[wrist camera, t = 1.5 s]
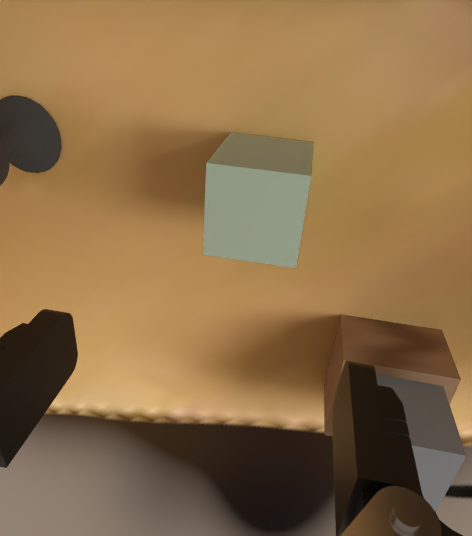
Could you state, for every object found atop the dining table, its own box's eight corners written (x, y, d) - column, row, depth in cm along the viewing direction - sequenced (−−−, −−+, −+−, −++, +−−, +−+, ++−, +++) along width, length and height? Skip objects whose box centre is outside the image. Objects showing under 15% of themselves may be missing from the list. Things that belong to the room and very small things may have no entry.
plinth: (441, 329, 31) (460, 379, 27) (414, 399, 34) (427, 453, 30) (340, 313, 32) (343, 359, 27) (324, 383, 35) (324, 434, 31)
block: (313, 141, 26) (311, 175, 20) (301, 219, 28) (296, 268, 23) (230, 132, 26) (206, 163, 21) (225, 209, 29) (202, 254, 23)
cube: (443, 386, 27) (465, 455, 23) (417, 444, 30) (433, 516, 25) (353, 370, 28) (358, 435, 23) (336, 428, 30) (338, 496, 26)
